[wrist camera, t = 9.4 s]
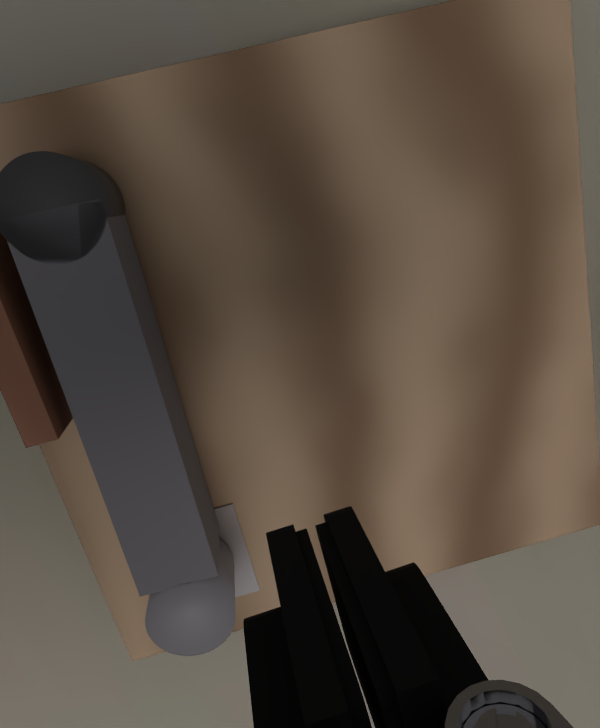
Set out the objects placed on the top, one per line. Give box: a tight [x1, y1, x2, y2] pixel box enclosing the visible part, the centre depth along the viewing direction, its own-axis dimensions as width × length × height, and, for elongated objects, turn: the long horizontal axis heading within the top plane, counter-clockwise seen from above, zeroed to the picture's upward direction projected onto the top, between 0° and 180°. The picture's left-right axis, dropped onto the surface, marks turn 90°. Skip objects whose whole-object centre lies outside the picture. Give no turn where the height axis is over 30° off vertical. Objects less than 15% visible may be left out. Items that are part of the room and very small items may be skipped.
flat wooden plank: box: [0, 0, 600, 661], centre depth 20 cm, size 22×22×6 cm
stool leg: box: [0, 151, 236, 656], centre depth 19 cm, size 18×3×3 cm, turn 12°
